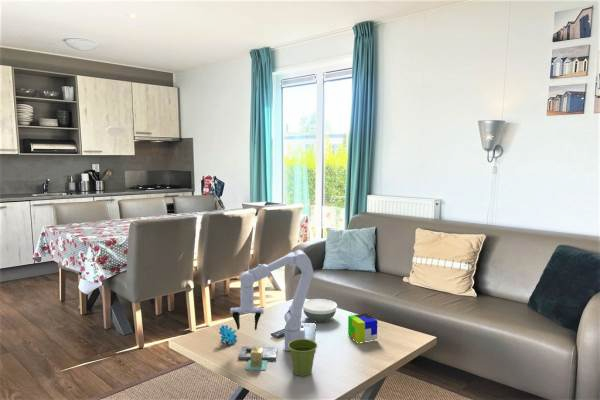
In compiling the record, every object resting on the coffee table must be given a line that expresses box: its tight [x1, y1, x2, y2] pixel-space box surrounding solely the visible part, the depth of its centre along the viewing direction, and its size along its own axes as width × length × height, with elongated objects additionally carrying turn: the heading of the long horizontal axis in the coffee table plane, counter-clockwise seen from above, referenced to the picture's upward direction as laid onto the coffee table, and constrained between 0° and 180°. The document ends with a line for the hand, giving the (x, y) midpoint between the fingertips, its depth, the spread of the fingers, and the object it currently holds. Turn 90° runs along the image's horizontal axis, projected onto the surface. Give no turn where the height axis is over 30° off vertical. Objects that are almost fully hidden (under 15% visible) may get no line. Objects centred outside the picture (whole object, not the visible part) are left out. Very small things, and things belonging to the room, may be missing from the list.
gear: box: [218, 324, 238, 345], centre depth 194 cm, size 11×6×10 cm
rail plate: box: [237, 345, 279, 362], centre depth 181 cm, size 16×10×1 cm, turn 88°
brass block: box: [250, 348, 263, 367], centre depth 172 cm, size 4×4×6 cm
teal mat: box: [245, 360, 268, 371], centre depth 172 cm, size 8×8×1 cm
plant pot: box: [288, 338, 319, 377], centre depth 166 cm, size 12×12×11 cm
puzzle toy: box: [347, 312, 378, 344], centre depth 199 cm, size 10×10×10 cm
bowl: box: [302, 298, 338, 323], centre depth 222 cm, size 19×19×8 cm
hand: (247, 328), depth 185 cm, fingers open, 7 cm apart
